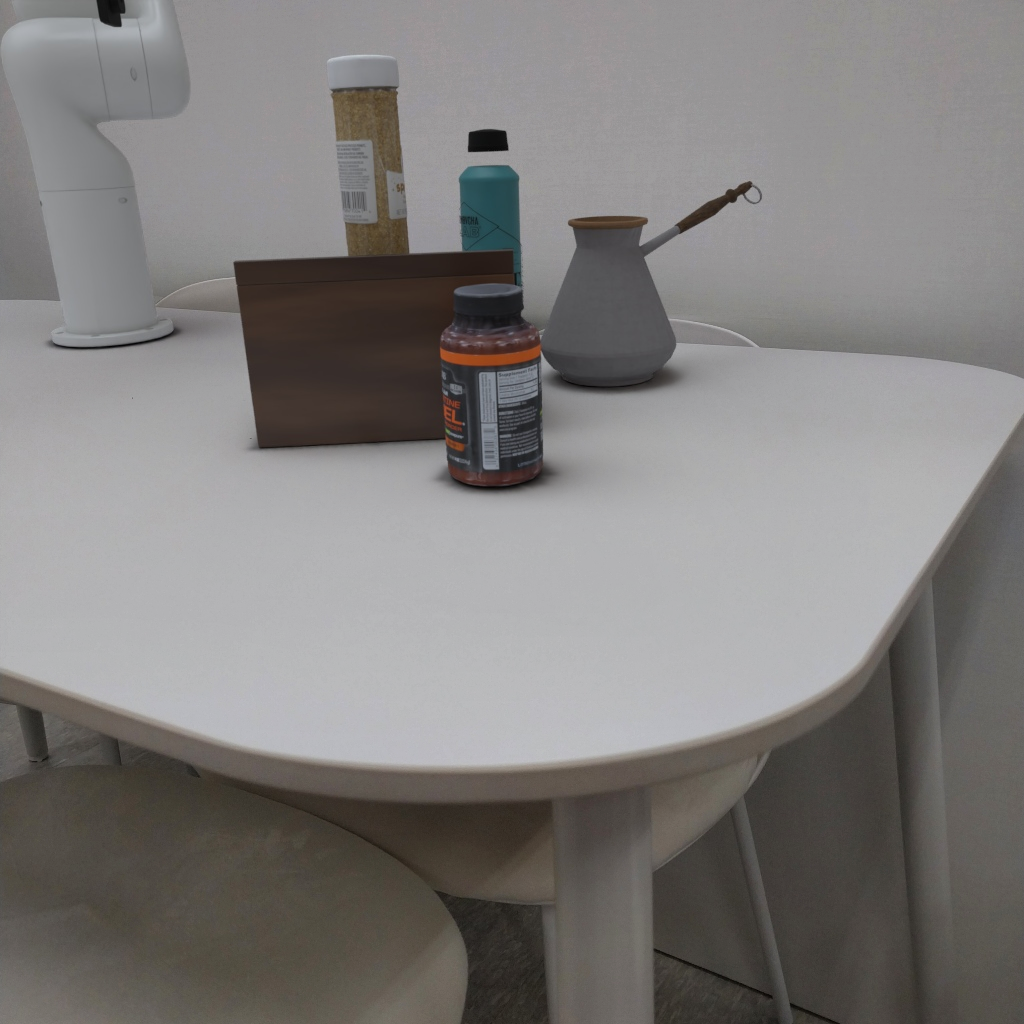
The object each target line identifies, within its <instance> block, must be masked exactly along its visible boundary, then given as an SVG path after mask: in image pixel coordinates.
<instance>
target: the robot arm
mask: <svg viewBox="0 0 1024 1024" xmlns="http://www.w3.org/2000/svg"><path fill="white" fill-rule="evenodd" d="M10 2H11V6H12V9H13V12H14V15H15V17H16V19H17V21H18V22H17V23H15V24H14V25H12V26H10V27H9V28H7V30H6V31H5V32H4V34H3V36H2V39H1V43H0V60H1V65H2V69H3V73H4V77H5V80H6V82H7V86H8V89H9V91H10V92H11V97H12V99H13V102H14V104H15V108H16V111H17V112H18V116H19V119H20V123H21V126H22V130H23V133H24V136H25V139H26V143H27V147H28V152H29V156H30V161H31V164H32V169H33V174H34V178H35V183H36V188H37V192H38V198H39V203H40V208H41V213H42V218H43V223H44V228H45V232H46V237H47V243H48V248H49V252H50V256H51V257H50V258H51V261H52V266H53V267H52V268H53V271H54V277H55V281H56V286H57V287H56V288H57V292H58V297H59V301H60V306H61V311H62V317H63V321H64V325H62V326H59V327H56V328H55V329H53V330H52V331H51V333H50V335H51V340H52V343H54V344H55V345H58V346H62V347H70V348H71V347H73V348H74V347H75V348H94V347H109V346H119V345H120V346H121V345H129V344H135V343H140V342H146V341H151V340H155V339H159V338H162V337H165V336H168V335H170V334H172V333H173V331H174V322H173V320H172V319H170V318H168V317H164V316H158V315H157V309H156V304H155V303H156V302H155V295H154V291H153V285H152V279H151V273H150V267H149V261H148V255H147V248H146V243H145V237H144V231H143V226H142V225H143V224H142V218H141V212H140V208H139V202H138V195H137V189H136V183H135V177H134V172H133V170H132V167H131V164H130V162H129V160H128V159H127V157H126V156H125V154H124V153H123V152H122V151H121V150H120V149H119V148H118V147H117V146H116V145H115V144H114V142H112V141H111V140H110V139H109V138H107V136H105V134H103V133H102V132H101V131H100V129H99V128H98V124H101V123H107V122H108V123H109V122H111V121H143V120H145V121H148V120H149V121H150V120H165V119H166V120H167V119H172V118H175V117H178V116H179V115H181V114H182V113H184V112H185V111H186V109H187V107H188V105H189V103H190V99H191V76H190V68H189V64H188V59H187V54H186V49H185V45H184V42H183V36H182V33H181V28H180V24H179V20H178V16H177V15H178V14H177V11H176V7H175V3H174V2H175V1H174V0H10Z"/></svg>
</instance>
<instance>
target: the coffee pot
mask: <svg viewBox="0 0 1024 1024" xmlns="http://www.w3.org/2000/svg"><path fill="white" fill-rule="evenodd" d="M751 188H754V189H755V190H756V191H757V192H758V194H759V199H758V201H756V202H755V201H752V200H750V199H749V198H748V197H747V195H746V193H747V192H749V191H750V190H751ZM739 196H743V198H744V200H745V201H746V202H747V203H749V204H751V205H757V204H759V203H761V201H762V200H763V194H762V191H761V189H760V188H759V187H758V186H757V185H756V184H753V181H751V180H748V181H745V182H743V183H740V184H738V186H737V187H735V188H734V189H732V188H728V189H727V190H726V191H725V194H724V195H721V196H719V197H716V198H714V199H712V200H709V201H707V202H705V203H703V205H701V206H699V207H698V208H697V209H695V210H694V211H693V212H691V213H690V214H688V215H687V216H685V217H684V218H683V219H681V220H680V221H678V222H677V223H676V224H674V225H673V226H672V227H671V228H668V229H667V230H665V231H663V232H662V233H660V234H658V235H656V236H654V237H653V238H652V239H650V240H648V241H647V242H645V243H643V244H642V245H640V241H641V236H642V232H643V228H644V226H645V225H647V224H648V222H649V219H648V217H644V216H635V215H598V216H585V217H577V218H572V219H568V221H567V225H568V227H571V228H572V231H573V235H574V240H575V245H576V246H575V250H574V252H573V255H572V257H571V260H570V263H569V265H568V268H567V270H566V272H565V275H564V278H563V281H562V283H561V286H560V288H559V290H558V294H557V296H556V298H555V301H554V304H553V307H552V309H551V312H550V314H549V318H547V319H548V320H547V322H546V324H545V327H544V330H543V333H542V334H541V336H540V342H541V355H542V356H543V358H544V360H545V361H546V362H547V363H548V364H549V366H550V367H551V368H552V369H553V370H555V371H557V372H559V373H560V374H562V375H561V377H562V379H563V380H564V381H566V382H569V383H572V384H575V385H582V386H588V387H589V386H590V387H622V386H623V387H624V386H629V385H630V386H632V385H637V384H640V383H645V382H646V381H649V380H651V379H652V378H654V373H655V372H657V371H659V370H660V369H662V368H663V367H664V366H665V365H666V364H667V363H668V362H669V361H670V360H671V358H672V357H673V354H674V353H675V351H676V348H677V339H676V338H677V337H676V335H675V332H674V330H673V327H672V325H671V322H670V319H669V317H668V315H667V312H666V309H665V307H664V305H663V302H662V300H661V297H660V294H659V292H658V289H657V286H656V284H655V282H654V279H653V276H652V273H651V271H650V269H649V267H648V264H647V262H646V259H645V257H647V256H648V255H650V254H651V253H652V252H653V253H654V252H655V251H656V250H657V249H659V248H660V247H661V246H663V245H665V244H666V243H668V242H669V241H671V240H673V239H674V238H675V237H677V236H679V235H681V234H683V233H685V232H687V231H688V230H690V229H692V228H694V227H696V226H698V225H700V224H701V223H703V222H706V221H707V220H708V219H711V218H713V217H714V216H716V215H717V214H718V213H719V212H721V210H723V209H724V208H725V207H726V206H727V205H728V204H734V203H736V202H737V201H738V197H739Z"/></svg>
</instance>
